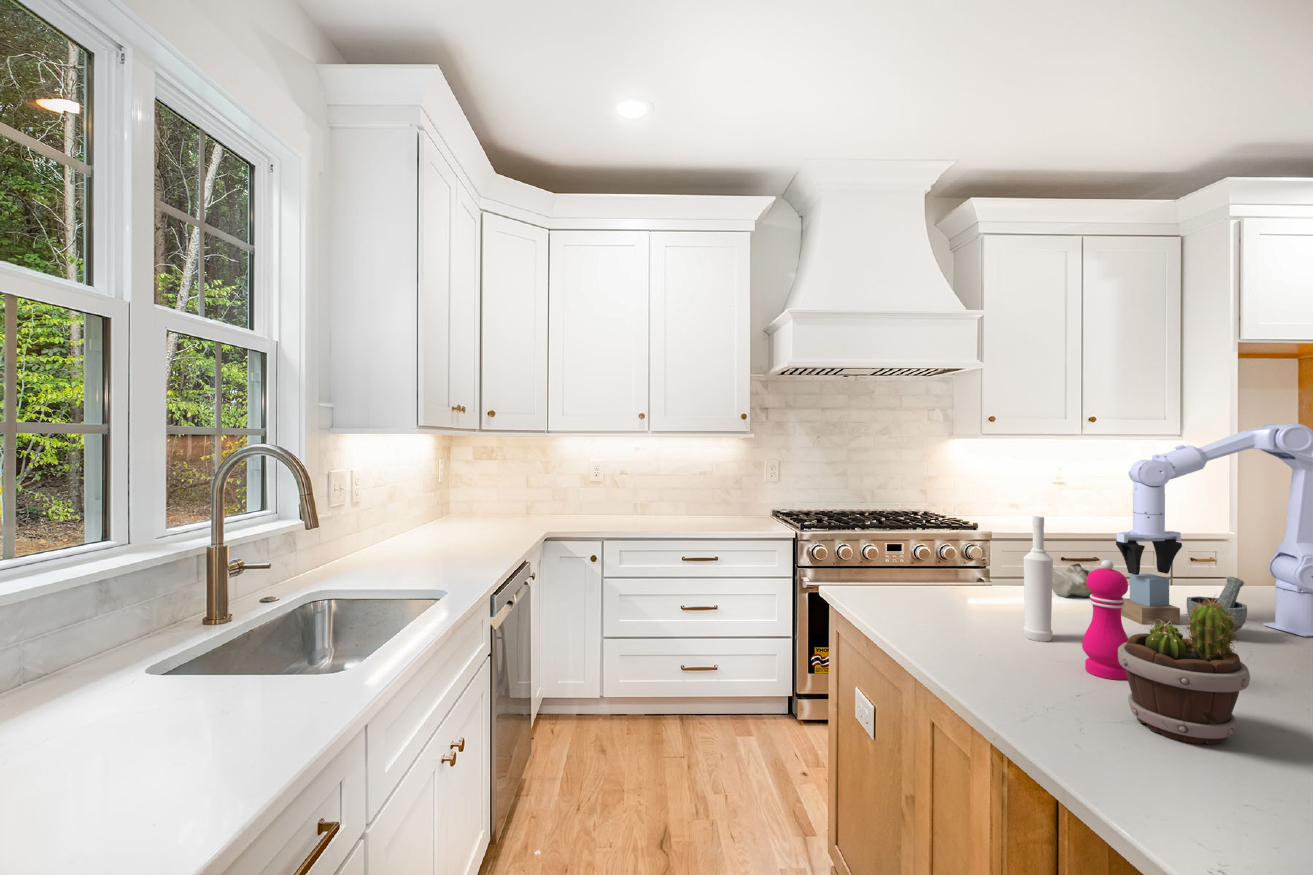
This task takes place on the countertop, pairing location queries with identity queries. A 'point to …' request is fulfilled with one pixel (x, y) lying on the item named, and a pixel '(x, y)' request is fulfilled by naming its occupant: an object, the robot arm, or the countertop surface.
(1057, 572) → the grey rock
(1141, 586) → the slate block
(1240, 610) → the mortar and pestle
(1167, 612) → the walnut plinth
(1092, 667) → the pepper mill
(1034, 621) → the bottle
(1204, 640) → the flowerpot
